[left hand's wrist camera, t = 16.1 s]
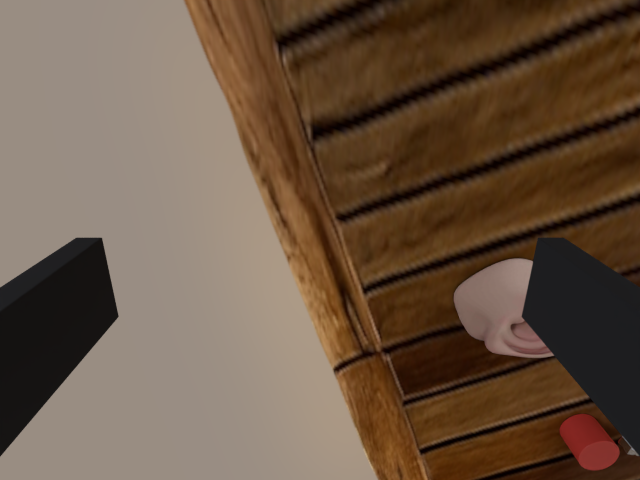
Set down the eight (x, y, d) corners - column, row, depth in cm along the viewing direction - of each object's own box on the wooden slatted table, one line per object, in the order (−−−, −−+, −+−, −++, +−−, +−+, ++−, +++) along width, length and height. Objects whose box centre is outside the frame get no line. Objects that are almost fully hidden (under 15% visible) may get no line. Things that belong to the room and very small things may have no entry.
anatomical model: (445, 328, 42) (532, 247, 38) (435, 307, 45) (514, 232, 42) (530, 392, 45) (618, 322, 41) (514, 368, 48) (594, 302, 45)
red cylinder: (551, 433, 53) (570, 462, 49) (576, 408, 51) (597, 435, 47) (580, 446, 53) (600, 475, 49) (605, 421, 52) (628, 449, 48)
